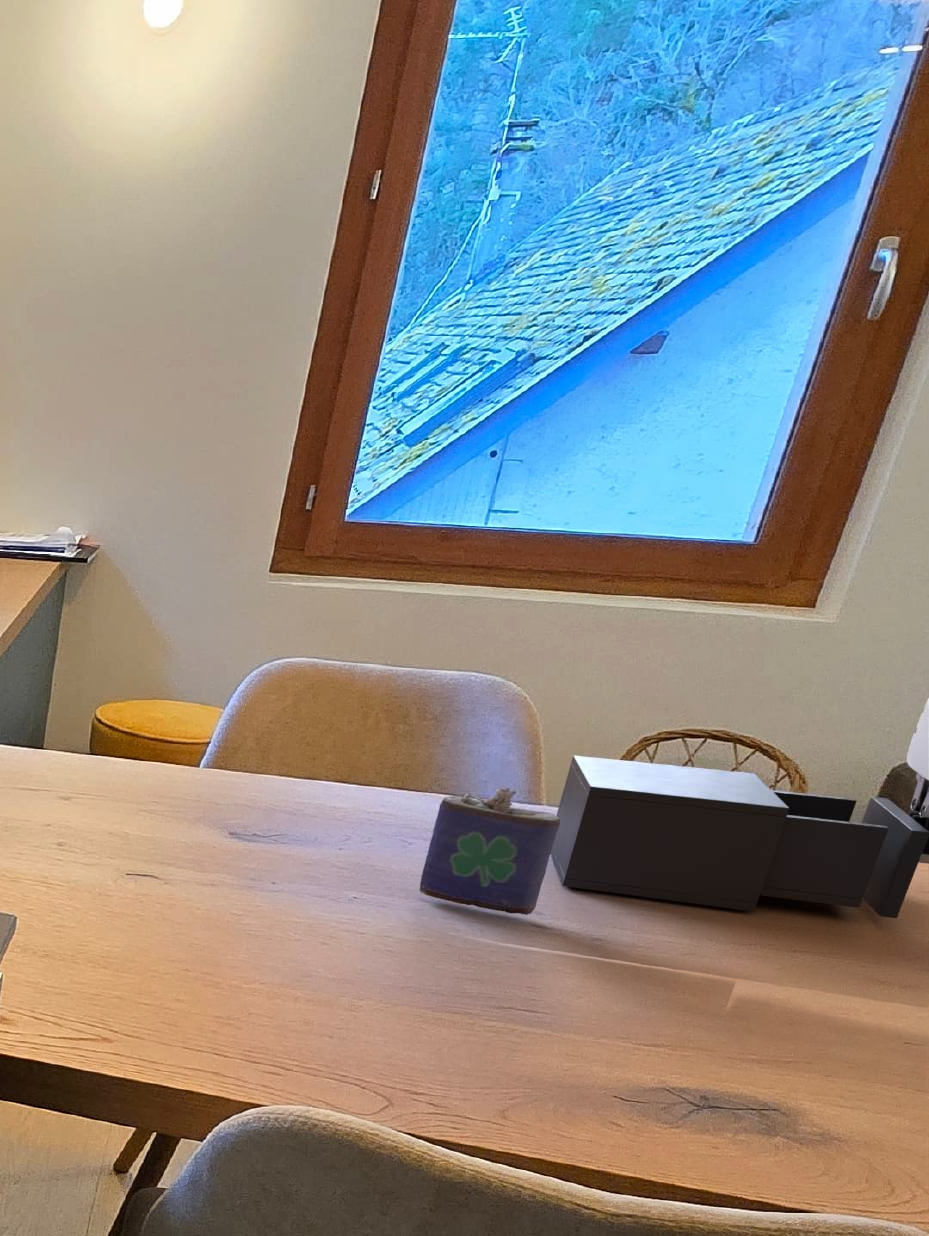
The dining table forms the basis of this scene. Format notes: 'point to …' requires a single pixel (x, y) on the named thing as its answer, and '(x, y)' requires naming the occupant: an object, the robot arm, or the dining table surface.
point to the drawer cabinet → (667, 832)
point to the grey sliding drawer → (845, 853)
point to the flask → (489, 853)
